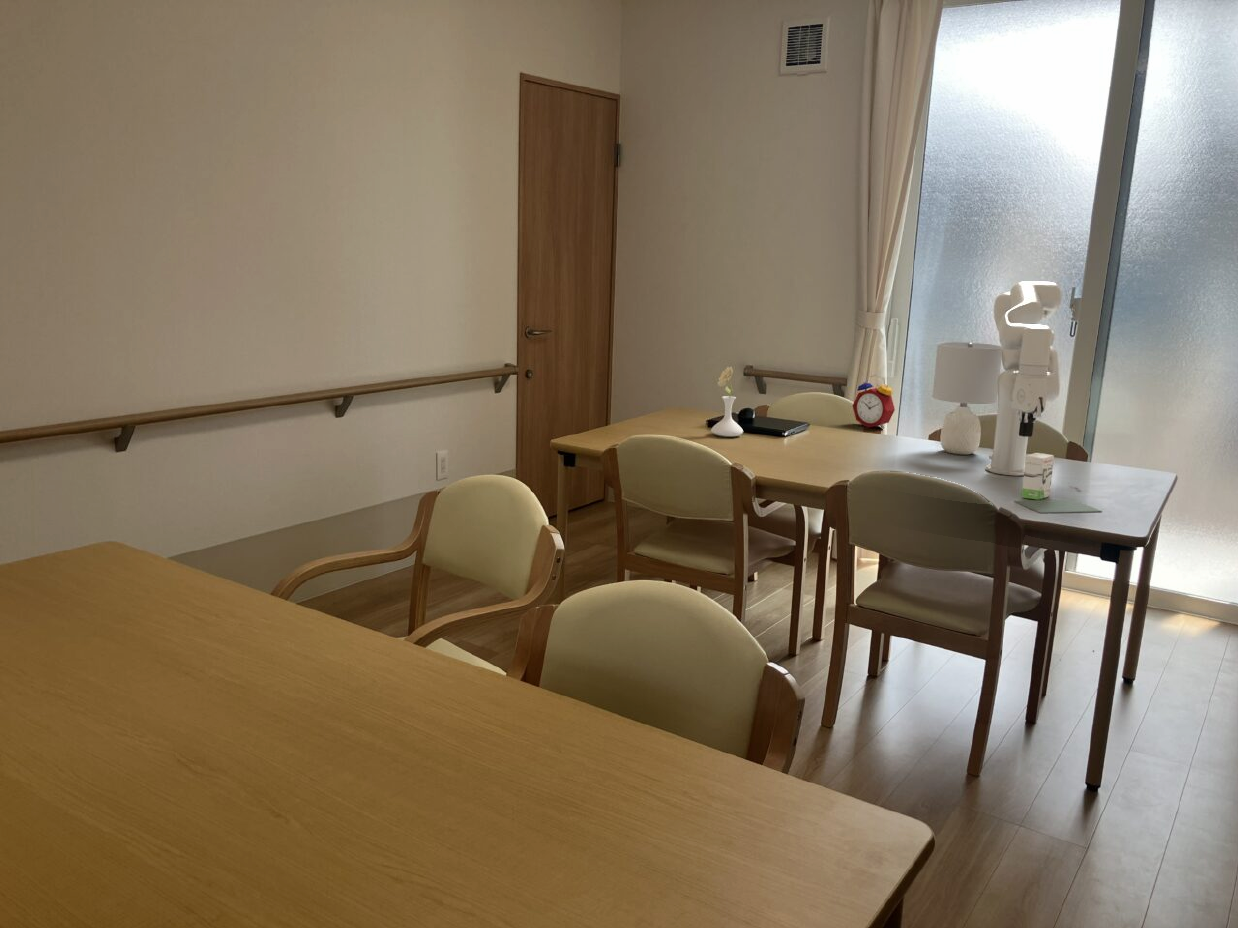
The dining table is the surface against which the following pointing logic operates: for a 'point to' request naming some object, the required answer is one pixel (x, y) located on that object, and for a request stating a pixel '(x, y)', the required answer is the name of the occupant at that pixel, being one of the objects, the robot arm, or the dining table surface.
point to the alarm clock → (873, 405)
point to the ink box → (1037, 476)
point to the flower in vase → (727, 410)
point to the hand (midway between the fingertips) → (1025, 436)
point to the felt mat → (1057, 506)
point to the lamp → (965, 390)
